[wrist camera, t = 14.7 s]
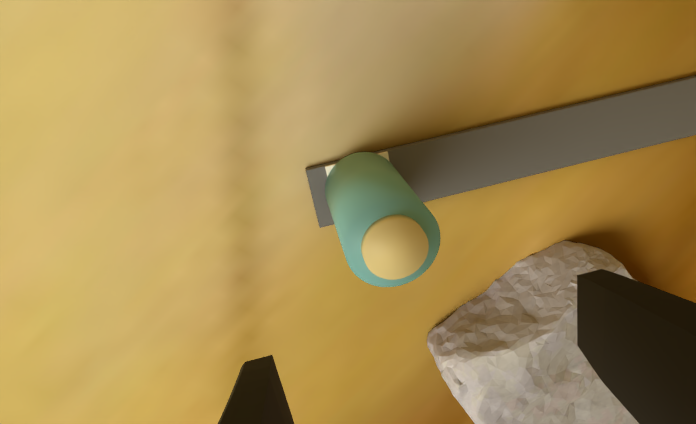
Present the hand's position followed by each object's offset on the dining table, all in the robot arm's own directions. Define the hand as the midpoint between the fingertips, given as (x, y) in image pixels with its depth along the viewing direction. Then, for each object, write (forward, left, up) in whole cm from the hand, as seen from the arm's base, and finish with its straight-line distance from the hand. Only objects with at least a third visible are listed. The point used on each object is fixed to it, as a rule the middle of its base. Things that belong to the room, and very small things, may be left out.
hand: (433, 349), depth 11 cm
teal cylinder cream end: (0, 0, -9) cm, 9 cm away
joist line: (0, -9, -10) cm, 13 cm away
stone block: (-11, -8, -10) cm, 17 cm away
